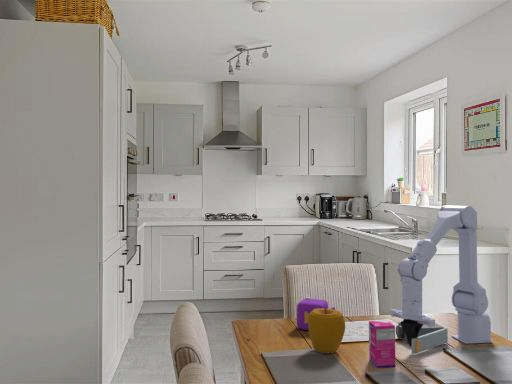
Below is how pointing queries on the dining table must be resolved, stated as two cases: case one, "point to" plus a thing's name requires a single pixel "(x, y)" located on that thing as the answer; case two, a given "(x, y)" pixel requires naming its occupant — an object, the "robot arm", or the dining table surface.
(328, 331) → the apple
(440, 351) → the dining table surface
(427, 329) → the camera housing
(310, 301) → the toy camera
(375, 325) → the supplement box
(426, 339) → the side door
